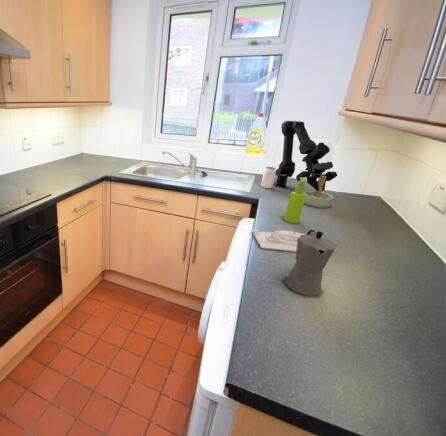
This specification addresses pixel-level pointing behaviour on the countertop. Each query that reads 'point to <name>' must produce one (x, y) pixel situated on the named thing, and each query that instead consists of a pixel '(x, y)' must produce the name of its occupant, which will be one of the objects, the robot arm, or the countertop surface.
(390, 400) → the countertop surface
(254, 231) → the beige cloth
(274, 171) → the can
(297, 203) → the soap dispenser
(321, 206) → the bowl
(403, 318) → the countertop surface
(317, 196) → the pestle
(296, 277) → the coffeepot
